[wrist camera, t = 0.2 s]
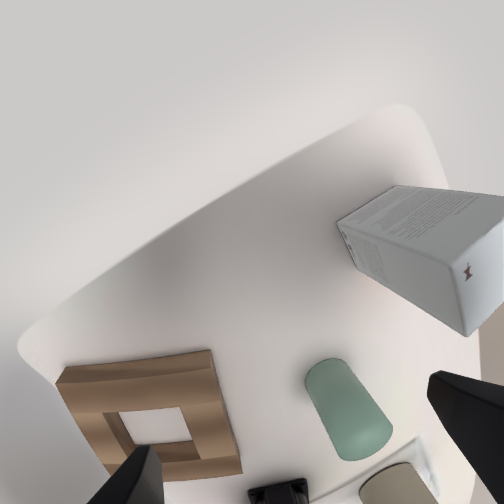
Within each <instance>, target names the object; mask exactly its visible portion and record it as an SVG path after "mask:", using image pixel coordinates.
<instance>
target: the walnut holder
mask: <svg viewBox="0 0 504 504" xmlns="http://www.w3.org/2000/svg"><path fill="white" fill-rule="evenodd" d="M55 384H56V386H57V388H58V390H59V392H60V394H61V396H62V398H63V400H64V402H65V404H66V405H67V407H68V409H69V411H70V413H71V415H72V416H73V418H74V420H75V422H76V423H77V425H78V427H79V428H80V430H81V432H82V433H83V435H84V436H85V438H86V440H87V441H88V443H89V444H90V446H91V448H92V449H93V451H94V452H95V453H96V455H97V457H98V458H99V460H100V461H101V462H102V464H103V465H104V467H105V468H106V470H107V471H108V472H109V474H110V475H111V476H112V475H113V474H114V472H115V471H116V470H117V469H118V468H119V467H120V466H121V464H122V463H123V462H124V461H125V460H126V459H127V457H128V456H129V455H130V454H131V453H132V452H133V450H134V449H135V448H136V447H137V446H138V445H135V444H134V442H133V440H132V439H131V437H130V435H129V433H128V431H127V429H126V428H125V426H124V424H123V422H122V420H121V418H120V416H119V414H118V412H127V411H141V410H153V409H163V408H172V407H180V409H181V412H182V414H183V417H184V420H185V422H186V425H187V427H188V430H189V432H190V434H191V437H192V439H193V441H187V442H177V443H166V444H151V445H152V446H153V448H154V450H155V452H156V454H157V455H158V457H159V459H160V461H161V464H162V474H163V482H170V481H186V480H197V479H207V478H216V477H223V476H230V475H237V474H243V472H242V466H241V459H240V454H239V450H238V447H237V444H236V441H235V438H234V434H233V431H232V428H231V424H230V421H229V417H228V414H227V411H226V407H225V404H224V400H223V396H222V393H221V389H220V386H219V382H218V378H217V375H216V371H215V367H214V363H213V359H212V356H211V352H210V350H206V351H200V352H194V353H187V354H181V355H174V356H167V357H160V358H153V359H145V360H137V361H129V362H120V363H110V364H100V365H89V366H77V367H66V368H65V369H64V371H63V372H62V374H61V375H60V377H59V379H58V380H57V382H56V383H55Z"/></svg>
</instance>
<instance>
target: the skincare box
mask: <svg viewBox="0 0 504 504" xmlns="http://www.w3.org/2000/svg"><path fill="white" fill-rule="evenodd" d="M337 226H338V228H339V230H340V232H341V234H342V236H343V238H344V240H345V243H346V245H347V247H348V249H349V251H350V253H351V256H352V258H353V260H354V262H355V265H356V267H357V269H358V270H359V271H360V272H362V273H364V274H366V275H367V276H369V277H370V278H372V279H374V280H375V281H377V282H379V283H380V284H382V285H384V286H385V287H387V288H389V289H390V290H392V291H393V292H395V293H397V294H398V295H400V296H401V297H403V298H405V299H406V300H408V301H409V302H411V303H413V304H414V305H416V306H417V307H419V308H421V309H422V310H424V311H425V312H427V313H428V314H430V315H432V316H433V317H435V318H436V319H438V320H439V321H441V322H443V323H444V324H446V325H447V326H449V327H450V328H452V329H453V330H455V331H457V332H458V333H459V334H461V335H463V336H464V337H469V336H470V335H471V334H472V333H473V332H474V331H475V330H476V329H477V328H478V327H479V326H480V325H481V324H482V323H483V322H484V321H485V320H486V319H487V318H488V317H489V316H490V315H491V314H492V313H493V312H494V311H495V310H496V309H497V308H498V307H499V305H501V304H502V303H503V301H504V197H503V196H496V195H488V194H480V193H472V192H463V191H454V190H444V189H434V188H422V187H411V186H395V187H393V188H392V189H390V190H388V191H387V192H385V193H383V194H382V195H380V196H379V197H377V198H375V199H374V200H372V201H370V202H369V203H367V204H366V205H364V206H362V207H361V208H359V209H358V210H356V211H354V212H353V213H351V214H349V215H348V216H346V217H344V218H343V219H341V220H339V221H338V222H337Z"/></svg>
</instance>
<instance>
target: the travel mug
mask: <svg viewBox="0 0 504 504" xmlns="http://www.w3.org/2000/svg"><path fill="white" fill-rule="evenodd" d="M359 496H360V499H361V501H362V503H363V504H438V502H437V501H436V499H435V498H434V496H433V495H432V493H431V492H430V491H429V489H428V488H427V486H426V485H425V483H424V482H423V481H422V479H421V478H420V476H419V475H418V473H417V472H416V471H415V469H414V468H413V466H412V465H411V464H407V463H405V464H399V465H396V466H392V467H390V468H388V469H386V470H383V471H382V472H380V473H378V474H377V475H376V476H374V477H373V478H371V479H370V480H369V481H368V482H367V483H366V484H365V485H364V486H363V487H362V489H361V490H360V493H359Z"/></svg>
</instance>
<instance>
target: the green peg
mask: <svg viewBox="0 0 504 504" xmlns="http://www.w3.org/2000/svg"><path fill="white" fill-rule="evenodd" d="M305 386H306V389H307V391H308V393H309V395H310V398H311V400H312V402H313V404H314V406H315V408H316V410H317V412H318V414H319V416H320V418H321V420H322V422H323V424H324V427H325V429H326V431H327V433H328V435H329V437H330V439H331V441H332V443H333V445H334V447H335V449H336V451H337V453H338V455H339V457H340V458H341V459H343V460H345V461H357V460H361V459H364V458H367V457H369V456H371V455H373V454H374V453H376V452H377V451H379V450H380V449H381V448H382V447H383V446H384V445H385V444H386V443H387V442H388V440H389V439H390V437H391V435H392V432H393V426H392V424H391V423H390V421H389V420H388V419H387V417H386V416H385V414H384V413H383V412H382V410H381V409H380V408H379V406H378V405H377V404H376V402H375V401H374V400H373V398H372V397H371V396H370V394H369V393H368V392H367V390H366V389H365V387H364V386H363V385H362V383H361V382H360V381H359V379H358V378H357V377H356V375H355V374H354V373H353V371H352V370H351V369H350V367H349V366H348V365H347V363H346V362H344V361H343V360H340V359H327V360H324V361H322V362H320V363H318V364H317V365H315V366H314V367H313V368H312V369H311V370H310V371H309V373H308V375H307V377H306V380H305Z"/></svg>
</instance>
